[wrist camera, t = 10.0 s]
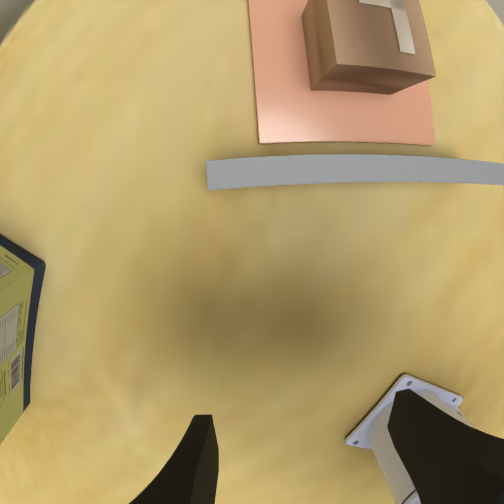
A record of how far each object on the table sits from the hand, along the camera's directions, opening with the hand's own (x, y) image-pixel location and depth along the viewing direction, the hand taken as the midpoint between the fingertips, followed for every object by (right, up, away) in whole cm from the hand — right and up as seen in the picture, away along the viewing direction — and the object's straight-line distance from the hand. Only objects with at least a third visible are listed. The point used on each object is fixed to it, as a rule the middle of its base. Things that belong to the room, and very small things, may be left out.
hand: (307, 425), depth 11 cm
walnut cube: (+3, +18, +5) cm, 19 cm away
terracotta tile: (+3, +18, +5) cm, 19 cm away
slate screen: (+4, +12, +7) cm, 14 cm away
